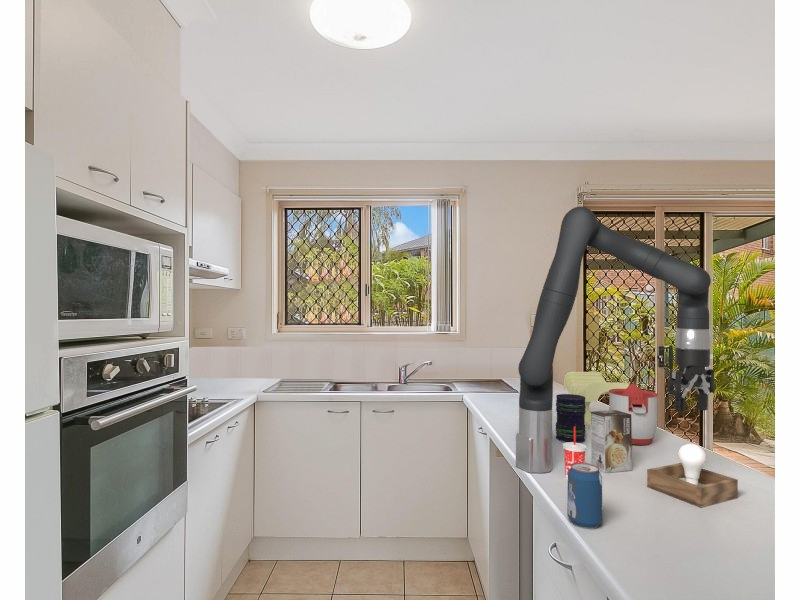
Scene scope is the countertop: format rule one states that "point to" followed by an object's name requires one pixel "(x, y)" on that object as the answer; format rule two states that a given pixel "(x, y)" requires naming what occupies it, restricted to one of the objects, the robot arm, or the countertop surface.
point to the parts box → (692, 485)
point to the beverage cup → (573, 453)
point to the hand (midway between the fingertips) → (691, 411)
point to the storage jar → (570, 417)
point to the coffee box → (611, 441)
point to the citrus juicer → (637, 411)
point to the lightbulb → (692, 461)
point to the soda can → (584, 495)
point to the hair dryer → (589, 387)
